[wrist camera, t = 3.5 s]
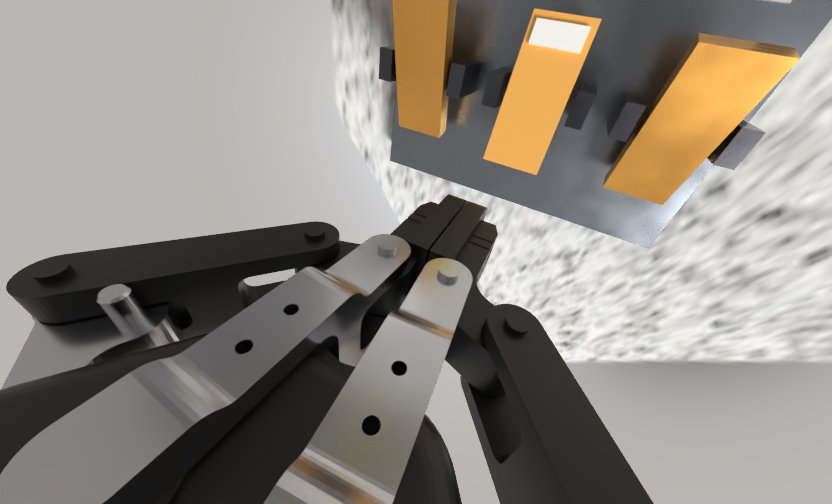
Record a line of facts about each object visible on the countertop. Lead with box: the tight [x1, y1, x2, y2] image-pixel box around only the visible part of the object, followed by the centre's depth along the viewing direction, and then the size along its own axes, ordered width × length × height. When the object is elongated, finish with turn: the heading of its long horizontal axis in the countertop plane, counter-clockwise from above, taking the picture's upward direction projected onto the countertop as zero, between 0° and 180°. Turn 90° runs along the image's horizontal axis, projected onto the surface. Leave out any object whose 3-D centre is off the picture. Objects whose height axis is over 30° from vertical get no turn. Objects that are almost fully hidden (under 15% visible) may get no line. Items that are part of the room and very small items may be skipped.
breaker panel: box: [379, 0, 832, 248], centre depth 17 cm, size 19×14×6 cm
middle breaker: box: [483, 8, 602, 175], centre depth 15 cm, size 3×7×1 cm, turn 171°
